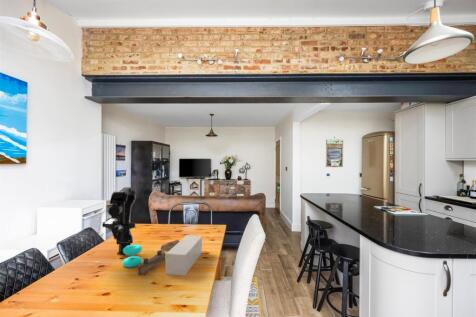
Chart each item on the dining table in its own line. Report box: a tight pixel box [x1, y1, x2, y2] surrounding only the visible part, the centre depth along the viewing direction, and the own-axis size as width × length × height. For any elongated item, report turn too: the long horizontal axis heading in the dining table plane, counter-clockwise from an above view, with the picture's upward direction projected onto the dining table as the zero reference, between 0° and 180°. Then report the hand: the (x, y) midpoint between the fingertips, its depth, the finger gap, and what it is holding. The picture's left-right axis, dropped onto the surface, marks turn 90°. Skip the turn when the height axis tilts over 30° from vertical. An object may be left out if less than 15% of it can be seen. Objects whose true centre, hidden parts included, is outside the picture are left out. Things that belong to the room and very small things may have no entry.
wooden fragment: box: [160, 239, 181, 253], centre depth 172 cm, size 26×11×1 cm, turn 166°
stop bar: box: [137, 249, 166, 276], centre depth 136 cm, size 3×20×7 cm, turn 163°
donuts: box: [122, 244, 143, 268], centre depth 139 cm, size 10×10×10 cm
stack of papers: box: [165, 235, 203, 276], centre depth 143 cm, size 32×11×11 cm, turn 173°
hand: (118, 239), depth 142 cm, fingers open, 4 cm apart
